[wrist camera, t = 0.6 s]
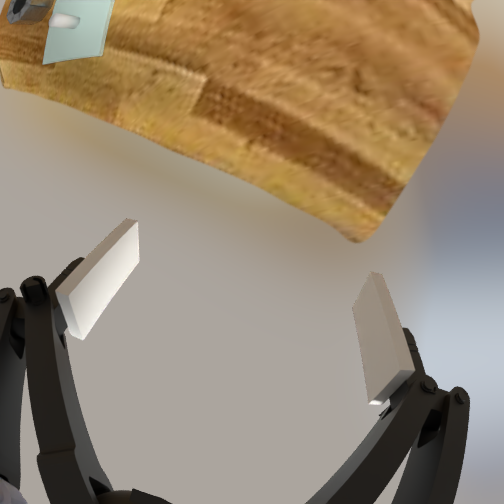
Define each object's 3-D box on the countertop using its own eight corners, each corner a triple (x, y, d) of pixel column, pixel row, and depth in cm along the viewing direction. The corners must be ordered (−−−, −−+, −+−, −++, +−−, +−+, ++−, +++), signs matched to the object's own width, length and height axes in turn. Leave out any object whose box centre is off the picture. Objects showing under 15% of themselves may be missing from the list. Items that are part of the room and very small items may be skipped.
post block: (60, -2, 24) (37, -6, 18) (120, -18, 24) (98, -28, 18) (46, 64, 31) (21, 66, 26) (102, 56, 31) (77, 54, 26)
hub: (33, -6, 22) (13, -8, 17) (58, -17, 22) (38, -21, 17) (24, 27, 26) (3, 27, 21) (48, 18, 26) (26, 16, 21)
